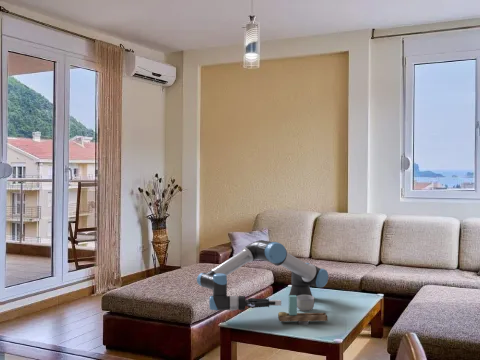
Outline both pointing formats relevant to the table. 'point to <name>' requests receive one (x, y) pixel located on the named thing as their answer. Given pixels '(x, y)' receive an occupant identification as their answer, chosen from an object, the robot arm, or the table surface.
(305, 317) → the beam
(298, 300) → the teacup
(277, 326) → the table surface
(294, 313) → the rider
